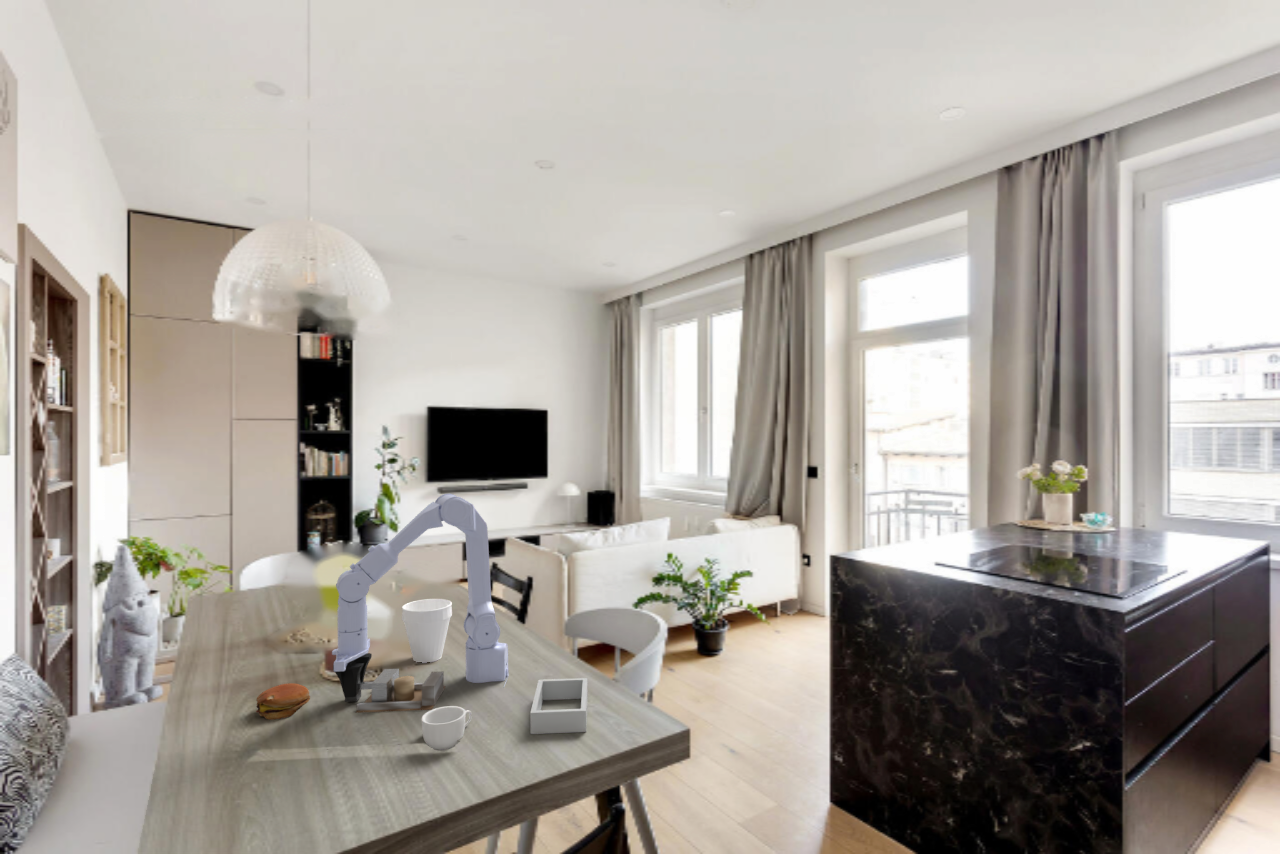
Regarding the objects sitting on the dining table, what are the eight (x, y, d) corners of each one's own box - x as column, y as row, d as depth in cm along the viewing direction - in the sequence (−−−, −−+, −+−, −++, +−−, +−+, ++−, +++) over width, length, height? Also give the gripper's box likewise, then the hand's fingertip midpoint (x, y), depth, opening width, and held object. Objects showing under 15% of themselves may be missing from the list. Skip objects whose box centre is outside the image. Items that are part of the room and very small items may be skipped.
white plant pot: (432, 669, 156) (432, 612, 156) (391, 664, 160) (390, 609, 160) (462, 652, 167) (461, 600, 168) (422, 648, 171) (422, 597, 171)
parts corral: (587, 696, 138) (587, 677, 139) (586, 731, 122) (585, 710, 122) (538, 698, 138) (538, 679, 138) (530, 734, 121) (530, 712, 121)
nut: (416, 694, 137) (416, 675, 137) (411, 702, 133) (411, 682, 133) (397, 695, 137) (397, 676, 137) (391, 702, 133) (391, 683, 133)
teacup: (437, 759, 112) (437, 728, 112) (413, 746, 117) (413, 716, 117) (484, 737, 120) (483, 709, 120) (459, 726, 125) (459, 698, 125)
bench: (445, 693, 141) (445, 667, 141) (431, 716, 129) (431, 689, 129) (376, 695, 140) (376, 670, 140) (355, 719, 128) (355, 692, 128)
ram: (399, 690, 139) (398, 666, 139) (386, 705, 131) (386, 680, 131) (354, 691, 138) (354, 668, 138) (339, 707, 130) (339, 682, 130)
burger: (315, 699, 139) (315, 677, 139) (301, 718, 130) (301, 695, 130) (266, 703, 137) (265, 681, 137) (248, 723, 128) (247, 699, 128)
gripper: (346, 619, 141) (347, 681, 141) (317, 640, 127) (318, 709, 127) (379, 618, 142) (379, 679, 142) (354, 639, 127) (354, 707, 127)
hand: (353, 693), depth 134 cm, fingers closed on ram, 2 cm apart
